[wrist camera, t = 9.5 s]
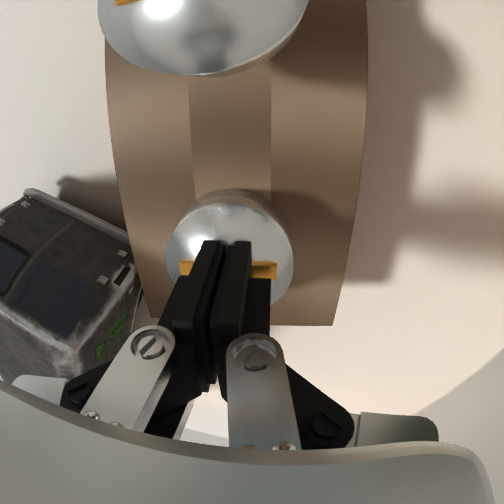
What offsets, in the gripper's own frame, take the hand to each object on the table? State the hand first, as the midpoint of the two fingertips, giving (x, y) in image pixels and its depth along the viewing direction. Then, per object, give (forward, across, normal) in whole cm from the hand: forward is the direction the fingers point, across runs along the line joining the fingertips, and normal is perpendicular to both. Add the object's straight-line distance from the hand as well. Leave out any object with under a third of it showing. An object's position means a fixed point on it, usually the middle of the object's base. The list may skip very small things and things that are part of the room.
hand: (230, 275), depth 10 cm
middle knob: (+3, 0, -9) cm, 10 cm away
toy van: (+7, +15, +10) cm, 19 cm away
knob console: (+6, 0, -9) cm, 11 cm away
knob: (+6, 0, 0) cm, 6 cm away
